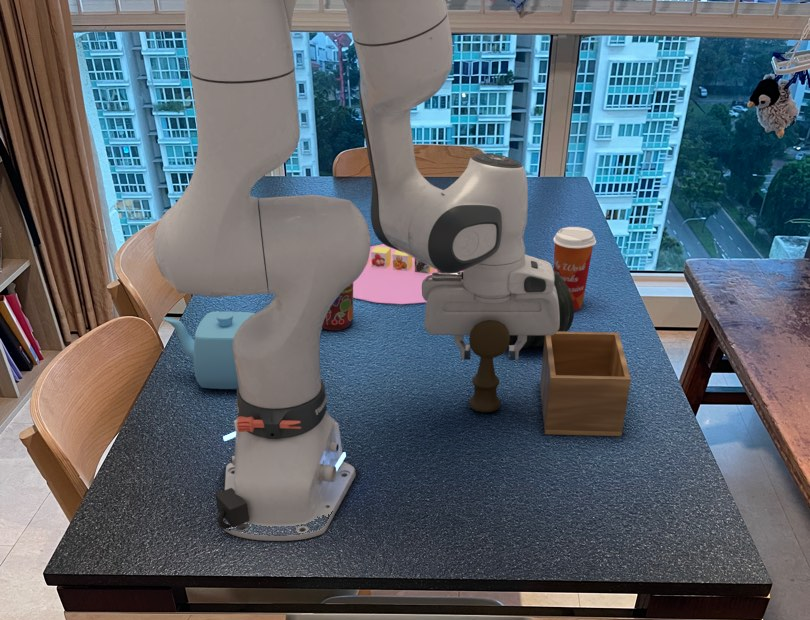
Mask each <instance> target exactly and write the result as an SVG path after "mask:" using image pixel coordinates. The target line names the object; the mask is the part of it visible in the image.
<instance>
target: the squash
mask: <svg viewBox="0 0 810 620" xmlns="http://www.w3.org/2000/svg"><path fill="white" fill-rule="evenodd" d="M552 268H553V271H554V276H555V281H554V285H555V287H556V290H557V295H558V302H559V313H560V326H559V330H558V331H560V332H569V330H570V328H571V326H572V324H573V321H574V318H575V316H574V315H575V311H574V304H573V300H572V298H571V296H570V292H569V288H568V286H567V285H566V283H565V282H564V280H563V279H562V278H561V277H560V276H559V274H558V273H557V271H556V270H555V269H554V266H552ZM509 336H510V341H509V345H515V343H516V342H517V340H518V339H517V335H509ZM544 339H545V335H527V341H526V343H525V344H524V345H523V347H522V348H525V349H526V348H528V347H530V346H531V347H532V348H539V347H542V348H544ZM509 345H508V346H509Z"/></svg>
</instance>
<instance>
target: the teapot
mask: <svg viewBox="0 0 810 620" xmlns="http://www.w3.org/2000/svg"><path fill="white" fill-rule="evenodd" d="M254 314H255V313H254V312H252V311H251V312H250V311H209V312H208V313H207V314H206V315H205V316H203V318H202V319H201V321H199V324H198V325H197V328H196V331H195V333H194V339H193V337H192V336H191V335H190V334H189V332H188V330H187V328H186V326H185V325H184V323H183V322H181V320H179V319H177V318H175V317H171V316H170V317H168V316H165V317H163V318H162V319H163V320H164V321H165V322H166V323H168V324H169V325H171V326H172V327H173V328H174V330H175V331H176V334H177V336H178V339H179V342H180V346H181V348H182V350H183V352H184V354H185V355H186V356H187V357H188V358H189V359H191V360H192V361H193V371H194V376H195V379H196V382H197V383H198V384H199V386H200V387H201V388H204V389H217V390H237V389H238V387H239V385H238V379H237V373H236V366H235V360H234V353H233V340H234V336H235V334H236V332H237V330H238V329H239V327H240V326H241V325H242V324H243V323H244V322H245V321H246V320H247V319H248V318H249V317H251V316H252V315H254Z"/></svg>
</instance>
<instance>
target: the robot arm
mask: <svg viewBox="0 0 810 620" xmlns="http://www.w3.org/2000/svg"><path fill="white" fill-rule="evenodd" d="M296 3H297V0H184V21H185V37H186V38H185V40H186V49H187V50H186V51H187V58H188V66H189V72H190V79H191V84H192V85H191V86H192V92H193V101H194V102H193V103H194V110H195V121H196V132H197V133H196V134H197V135H196V136H197V153H196V159H195V165H194V168H193V172H192V175H191V178H190V180H189V183H188V185H187V187H186V188H185V190H184V192H183V193H182V194H181V196H180V197H179V199H178V200H177V201H176V202H175V203H174V204H173V205H172V206H171V207H170V208H169V209H168V210H167V211H165V213H164V214H163V215H162V216H161V218H160V220H159V221H158V223H157V226H156V229H155V232H154V236H153V256H154V259H155V263H156V267H157V268H158V271H159V273H160V275H161V277H162V278H163V279H164V280H165V281H166V282H167V284H168V285H169V286H170V287H171V288H172V289H173V290H174V291H176V292H177V293H178V294H186V295H193V296H201V297H210V298H225V297H226V298H227V297H238V296H239V297H240V296H252V295H253V296H254V295H265V294H266V295H267V294H269V295H274V297H273V299H272V301H270V302H269V303H268V305H266V306H265V307H263V308H262V309H261V310H259V311H257V312H256V313H254V315H252V316H251V317H249V318H248V319H247V320H246V321H245V322H244V323H243V324H242V325H241V326H240V327H239V329H238V330H237V332H236V334H235V336H234V340H233V353H234V360H235V366H236V373H237V379H238V385H239V387H238V389H236V401H235V402H236V403H235V404H236V411H237V418H236V419H235V420H233V424H234V430H235V431H233V432H230V433H229V434H226V435H223V436H222V438H223V441H224V442H226V441H229V440H231V439H233V438H234V439H235V441H234V455H232V456H231V458H230V462H229V463H228V464H227V465H226V466H225V477H224V490H222V491H220V492H217V493H215V494H214V496H215V502H216V507H217V512H218V513H219V514H218V516H217V523H218V525H219V527H220V528H221V529H223V531H224V532H226V533H228V534H229V535H232V536H235V537H239V538H242V539H248V540H256V541H267V542H268V541H269V542H289V541H290V542H291V541H292V542H293V541H299V540H300V541H301V540H307V539H311V538H315V537H318V536H321V535H323V534H325V532H326V531H327V530H328V528H329V526H330V524H331V522H332V520H333V519H334V517H335V516H336V515H335V514H336V513H337V511H338V509H339V508H340V505H341V504H342V502H343V500H344V498H345V497H346V494H347V493H348V491H349V489H350V487H351V485H352V483H353V482H354V481H355V480H354V479H355V478H356V475H357V474H356V469H355V467H354V466H353V465H351V464H350V463H348V462H346V461H344V460H345V458H346V457H347V454H346V451H344V452H343V447H342V439H341V432H340V424H339V423H338V422H337V421H336V419H334V418H333V417H332V416H331V415H330V414H329V412H328V411H327V409H328V406H327V400H328V399H327V398H328V397H327V391H326V387H325V383H324V380H323V379H322V376H321V333H322V329H323V328H322V325H323V322H324V319H325V317H326V315H327V313H328V311H329V309H330V307H331V305H332V304H333V303H334V301H335V300H336V298H337V297H338V296H339V295H340V294H341V293H342V292H343V291H344V290H345V289H346V288H347V287H348V286H349V285H350V284H351V283H353V282H354V281H356V280H357V278H358V277H359V276H360V275H361V273H362V272H363V270H364V268H365V267H366V264H367V262H368V258H369V255H370V247H371V246H372V245H371V244H372V241H371V239H372V238H371V232H370V229H369V225H368V222H367V220H366V219H365V217H364V215H363V213H362V212H361V210H360V209H359V208H358V206H356V205H355V203H353V202H352V201H351V200H350V199H345V198H340V197H335V196H334V197H333V196H327V195H318V194H304V195H302V194H301V195H288V196H287V195H286V196H272V197H271V196H269V197H257V196H253V195H251V192H252V190H253V187H254V186H255V185H256V184H257V183H258V182H259V180H261V179H262V178H263V177H265V176H266V175H268V174H269V173H271V172H273V171H275V170H276V169H278V168H280V167H281V166H282V165H284V164H285V163H286V162H287V161H288V160H289V159H290V158H291V157H292V156H293V154H294V153H295V152H296V149H297V148H298V145H299V141H300V138H301V128H300V127H301V126H300V115H299V102H298V91H297V90H298V89H297V80H296V70H295V69H296V67H295V57H294V48H293V41H292V34H291V31H292V23H293V16H294V9H295V7H296ZM342 3H343V4H344V5H343V6H344V7H345V9H346V14H347V19H348V24H349V28H350V33H351V36H352V37H351V38H352V40H353V44H354V49H355V53H356V59H357V63H358V68H359V76H360V77H359V81H358V100H359V109H360V117H361V121H362V122H361V123H362V128H363V134H364V140H365V146H366V151H367V152H366V153H367V158H368V164H369V168H370V177H371V201H370V202H371V203H370V221H371V225H372V226H371V227H372V230H373V232H374V234H375V236H376V238H377V239H378V240H379V241H380V243H381V244H384V245H386V246H388V247H390V248H393V249H396V250H398V251H401V252H404V253H406V254H408V255H410V256H412V257H413V258H415V259H417V260H419V261H421V262H422V263H425V264H427V265H429V266H431V267H433V268H435V269H437V270H439V271H442V272H445V273H441V272H435V273H432V275H430V276H427V277H426V278H425V279H424V280H423V282H422V296H423V298H424V299H425V301H427V302H426V303H425V311H424V323H423V325H424V326H423V327H424V330H425V331H426V333H427V334H428V335H430V336H453V342H454V343H455V345H456V346H457V347H458V349H459V351H460V360H461V361H462V360H463V361H470V360H471V357H472V355H471V351H472V349H471V347H470V344H466V343H465V341H464V336H470V332H471V330H472V329H473V327H474V326H475V325H476V324H478V323H480V322H482V321H487V320H494V321H499V322H501V323H503V324H504V325H505V326H506V327H507V329H508V331H509V335H517V339H518V340H517V342H516V343H515V345H508V360H509V361H519V353H520V351H521V350H522V349H523V348H524V347H523V345H524V344H525V343H526V341H527V335H554V334H555V333H556V332H557V331H558V330H559V326H560V313H559V302H558V295H557V290H556V287H555V285H554V281H555V276H554V271H553V268H554V267H553V266H552V264H551V263H550V262H549V261H547V260H544V259H540V258H537V257H535V256H531V255H528V254H526V247H525V243H524V234H525V230H526V227H527V224H528V213H529V212H528V211H529V208H528V207H529V188H528V178H527V172H526V169H525V167H524V165H522V163H521V162H519V161H518V160H516V159H514V158H511V157H508V156H505V155H502V154H501V155H500V154H496V153H478V154H475V155H473V156H471V157H470V158H469V160H468V164H467V166H466V169H465V170H464V171H463V172H462V174H460V176H459V177H458V178H457V179H456V180H455V181H454V182H453V183H452V184H450V186H448V187H447V188H444V189H442V188H439V187H437V186H435V185H433V184H432V183H431V182H429V181H428V180H427V179H426V178H425V177H424V176H423V175H422V174H421V172H420V171H419V169H418V166H417V164H416V163H417V162H416V154H415V147H414V139H413V130H412V123H411V111H412V109H413V108H416V107H417V106H420V105H421V104H423V103H425V102H427V101H428V100H430V99H431V98H433V97H435V95H436V94H437V93H438V92H439V91H440V90H441V89H442V87H443V86H444V85H445V83H446V81H447V79H448V78H449V75H450V73H451V71H452V68H453V62H454V61H453V59H454V58H453V57H454V56H453V54H454V47H453V45H454V44H453V36H452V28H451V24H450V23H451V22H450V18H449V12H448V7H447V2H446V0H342ZM552 267H553V268H552ZM460 271H463V272H460ZM430 278H432V279H430ZM332 511H333V512H332ZM331 512H332V514H331ZM328 514H329V515H330V514H331V515H330V517H329V519H328V521H327V523H326V524H325V526H324V527H323V528H322V529H320V530H317V531H314V532H310V533H306V534H300V535H289V536H267V535H254V534H247V533H242V532H238V531H244V530H247V529H248V528H249V525H248V524H244V523H245V522H247V523H252V524H255V525H261V526H267V527H268V526H270V527H272V526H295V525H301V524H306V523H308V522H311V521H315V520H314V519H318V518H317V516H318V517H320V518H322V517H325V516H326V517H328ZM322 515H324V516H322ZM224 518H225V520H226V521H227V522H228V523H229V524H230V525H229V524H226V523H225V522H224V521H223V519H224ZM231 526H232V527H236V526H237V527H236V529H237V530H238V531H235V530H232V529H229V530H226V528H229V527H231ZM308 530H309V528H308V527H307V526H304V525H302V526H298V527H297V528H296V531H297V532H299V533H305V532H307V531H308Z"/></svg>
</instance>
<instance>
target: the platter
mask: <svg viewBox="0 0 810 620" xmlns="http://www.w3.org/2000/svg"><path fill="white" fill-rule="evenodd" d="M435 272H441V273H445V272H442V271H439V270H437V269H435V268H433V267H431V266H429V265H427V264H425V263H422V262H421V261H419V260H417V259H415V258H413V257H412V256H410V255H408V254H406V253H404V252H401V251H398V250H396V249H393V248H390V247H388V246H386V245H384V244H383V243H381V244H375V245H371V247H370V255H369V258H368V262H367V264H366V267H365V268H364V270H363V272H362V273H361V275H360V276H359V277H358V278H357V280H356V281H354V282H353V299H356V300H360V301H364V302H370V303H374V304H381V305H382V304H384V305H399V306H400V305H401V306H402V305H404V306H405V305H415V304H416V305H417V304H426V302H427V301H425V299H424V298H423V296H422V282H423V280H424V279H425V278H426V277H427V276H430V275H432V273H435ZM460 272H463V271H460ZM430 279H432V278H430Z"/></svg>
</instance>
